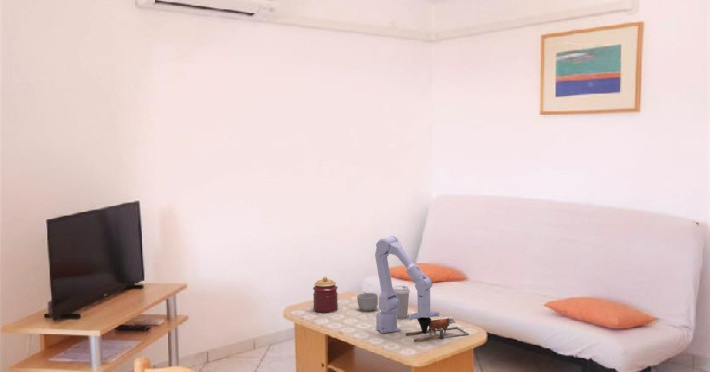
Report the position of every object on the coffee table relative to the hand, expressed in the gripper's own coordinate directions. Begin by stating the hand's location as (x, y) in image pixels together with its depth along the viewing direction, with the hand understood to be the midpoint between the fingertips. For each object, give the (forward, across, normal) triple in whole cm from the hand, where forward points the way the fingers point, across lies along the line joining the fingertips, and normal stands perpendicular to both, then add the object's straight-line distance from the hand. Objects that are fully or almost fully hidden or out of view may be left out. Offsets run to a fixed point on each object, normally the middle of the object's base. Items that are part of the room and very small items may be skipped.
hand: (424, 333), depth 280 cm
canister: (+2, -30, +58) cm, 65 cm away
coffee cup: (+2, +2, +32) cm, 32 cm away
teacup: (+2, -9, +51) cm, 52 cm away
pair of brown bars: (+2, 0, 0) cm, 2 cm away
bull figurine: (+2, +9, 0) cm, 9 cm away
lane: (+2, +13, 0) cm, 13 cm away
